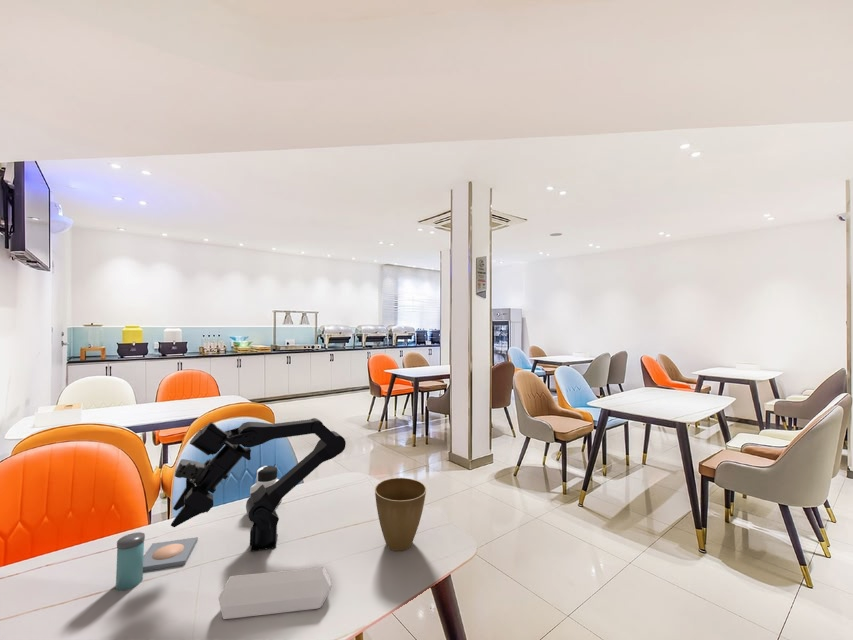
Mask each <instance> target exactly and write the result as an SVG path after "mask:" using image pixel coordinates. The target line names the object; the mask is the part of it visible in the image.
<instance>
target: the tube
mask: <svg viewBox="0 0 853 640" xmlns="http://www.w3.org/2000/svg"><path fill="white" fill-rule="evenodd" d="M145 538H146V534H145V533H144V532H141V531H140V532H132V533H130V534H125V535H124V536H122V537H120V538H119V539H118V540H117V541H116V548H117V551H116V572H115V574H116V576H115V589H116V590H117V591H126V590H130V589H133V588H134V587H136V586H138V585H139V584H141V582H142V581H143V580H144V579H143V578H144V571H143V556H144V555H145V554H144V553H145V551H144V550H145V540H146V539H145Z"/></svg>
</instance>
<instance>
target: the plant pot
mask: <svg viewBox="0 0 853 640" xmlns="http://www.w3.org/2000/svg"><path fill="white" fill-rule="evenodd" d="M426 495H427V486H426V485H425V484H424V483H422V482H421V481H419V480H416V479H414V478H407V477H406V478H405V477H394V478H393V477H392V478H387V479H384V480H382V481H380V482H378V483H377V484H376V485H375V488H374V496H375V503H376V504H375V505H376V510H377V517H378V520H379V524H380V528H381V529H380V530H381V533H382V537H383V539H384V542H385V545H386V547H387V548H388V549H390V550H391V551H396V552H402V550H403V551H406V550H408V549H409V548H411V546H412V544H413V542H414V539H415V538H416V537H415V536H416V534H417V531H418V528H419V525H420V522H421V518H422V514H423V510H424V505H425V499H426Z"/></svg>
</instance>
